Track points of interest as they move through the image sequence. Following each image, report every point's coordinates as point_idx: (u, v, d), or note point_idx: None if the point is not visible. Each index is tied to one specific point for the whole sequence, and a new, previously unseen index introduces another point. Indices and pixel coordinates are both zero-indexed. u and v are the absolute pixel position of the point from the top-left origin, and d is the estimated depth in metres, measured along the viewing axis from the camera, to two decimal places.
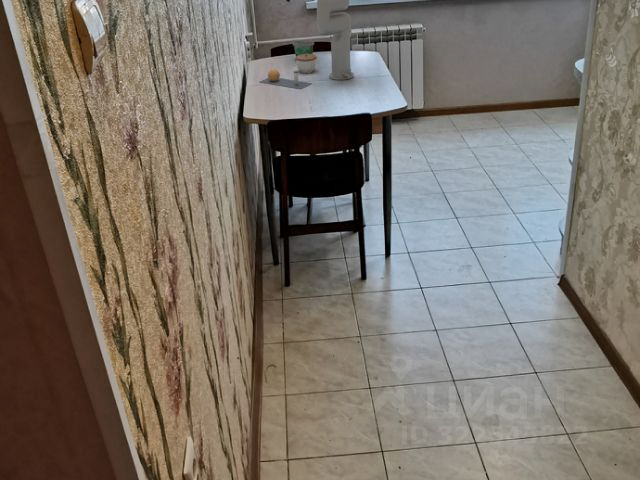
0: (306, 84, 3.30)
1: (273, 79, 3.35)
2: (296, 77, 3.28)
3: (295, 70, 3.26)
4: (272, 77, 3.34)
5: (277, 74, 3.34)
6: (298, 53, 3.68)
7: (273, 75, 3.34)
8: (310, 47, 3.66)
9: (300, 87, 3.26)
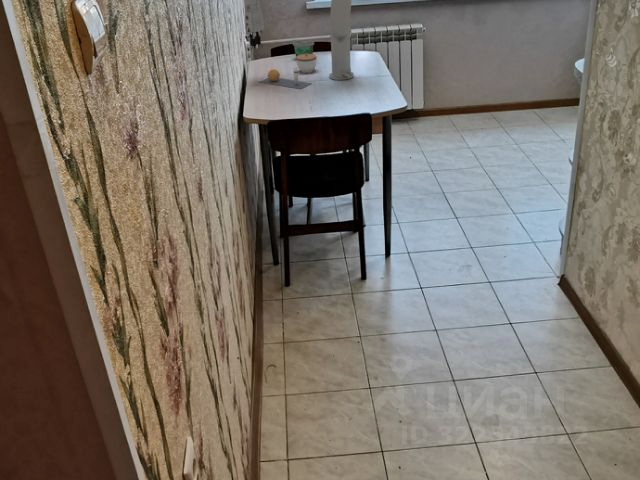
0: (306, 84, 3.30)
1: (273, 79, 3.35)
2: (296, 77, 3.28)
3: (295, 70, 3.26)
4: (272, 77, 3.34)
5: (277, 74, 3.34)
6: (298, 53, 3.68)
7: (273, 75, 3.34)
8: (310, 47, 3.66)
9: (300, 87, 3.26)
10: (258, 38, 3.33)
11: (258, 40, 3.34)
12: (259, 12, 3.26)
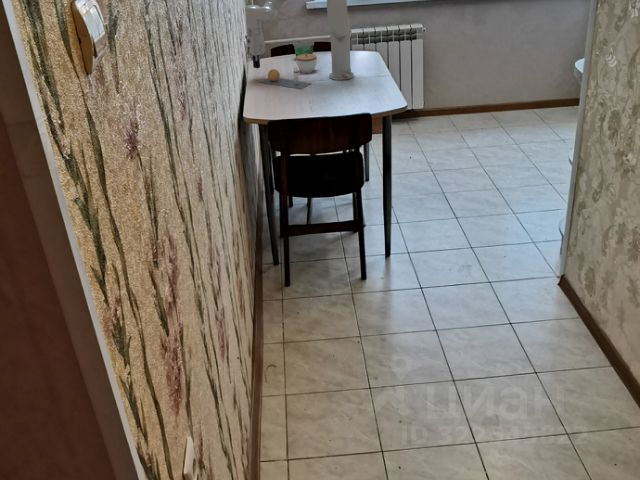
0: (306, 84, 3.30)
1: (273, 79, 3.35)
2: (296, 77, 3.28)
3: (295, 70, 3.26)
4: (272, 77, 3.34)
5: (277, 74, 3.34)
6: (298, 53, 3.68)
7: (273, 75, 3.34)
8: (310, 47, 3.66)
9: (300, 87, 3.26)
10: None
11: None
12: (261, 36, 3.32)
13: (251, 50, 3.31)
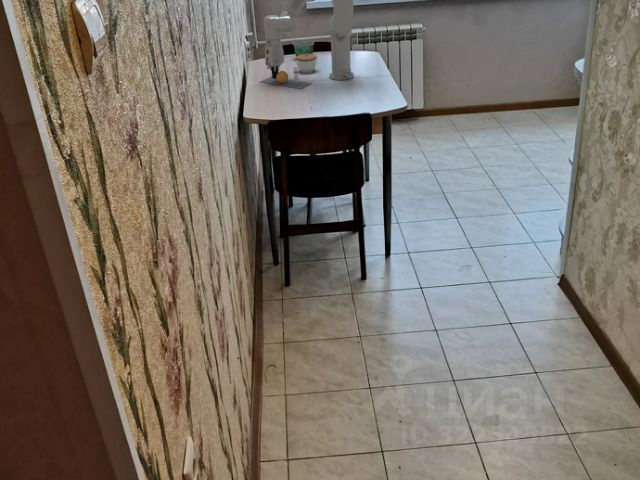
0: (306, 84, 3.30)
1: (277, 80, 3.33)
2: (296, 77, 3.28)
3: (295, 70, 3.26)
4: (278, 80, 3.33)
5: (283, 82, 3.34)
6: (298, 53, 3.68)
7: (280, 82, 3.32)
8: (310, 47, 3.66)
9: (300, 87, 3.26)
10: None
11: (276, 74, 3.35)
12: (280, 46, 3.28)
13: (270, 61, 3.27)
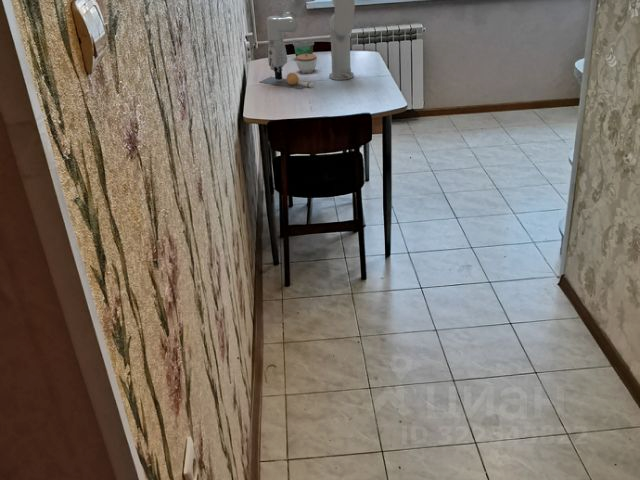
0: None
1: (289, 76, 3.27)
2: None
3: (309, 86, 3.26)
4: (287, 78, 3.28)
5: None
6: (298, 53, 3.68)
7: (286, 79, 3.29)
8: (310, 47, 3.66)
9: (300, 87, 3.26)
10: None
11: None
12: (282, 47, 3.28)
13: (273, 61, 3.26)
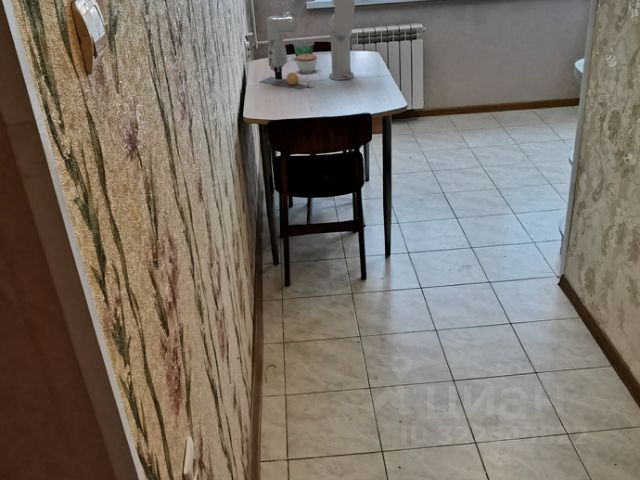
0: None
1: (289, 76, 3.27)
2: None
3: (309, 86, 3.26)
4: (287, 78, 3.28)
5: None
6: (298, 53, 3.68)
7: (286, 79, 3.29)
8: (310, 47, 3.66)
9: (300, 87, 3.26)
10: None
11: None
12: (282, 47, 3.28)
13: (273, 61, 3.26)
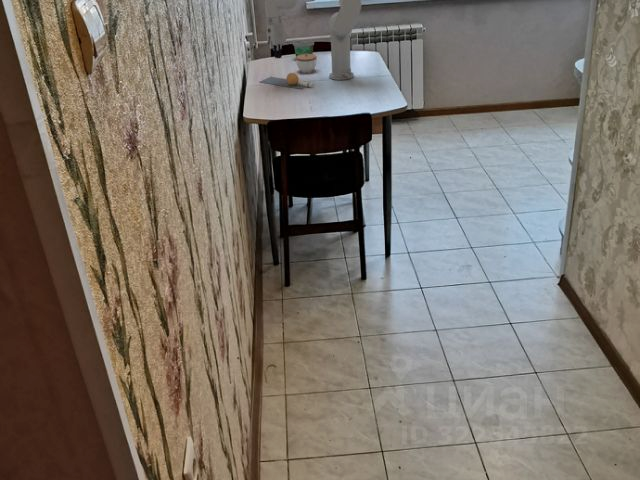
0: None
1: (289, 76, 3.27)
2: None
3: (309, 86, 3.26)
4: (287, 78, 3.28)
5: None
6: (298, 53, 3.68)
7: (286, 79, 3.29)
8: (310, 47, 3.66)
9: (300, 87, 3.26)
10: None
11: None
12: (281, 24, 3.22)
13: (272, 39, 3.21)
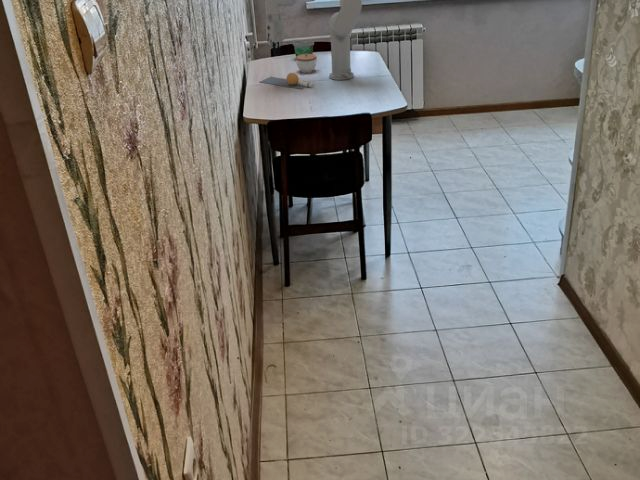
0: None
1: (289, 76, 3.27)
2: None
3: (309, 86, 3.26)
4: (287, 78, 3.28)
5: None
6: (298, 53, 3.68)
7: (286, 79, 3.29)
8: (310, 47, 3.66)
9: (300, 87, 3.26)
10: None
11: None
12: (281, 22, 3.22)
13: (271, 37, 3.20)
